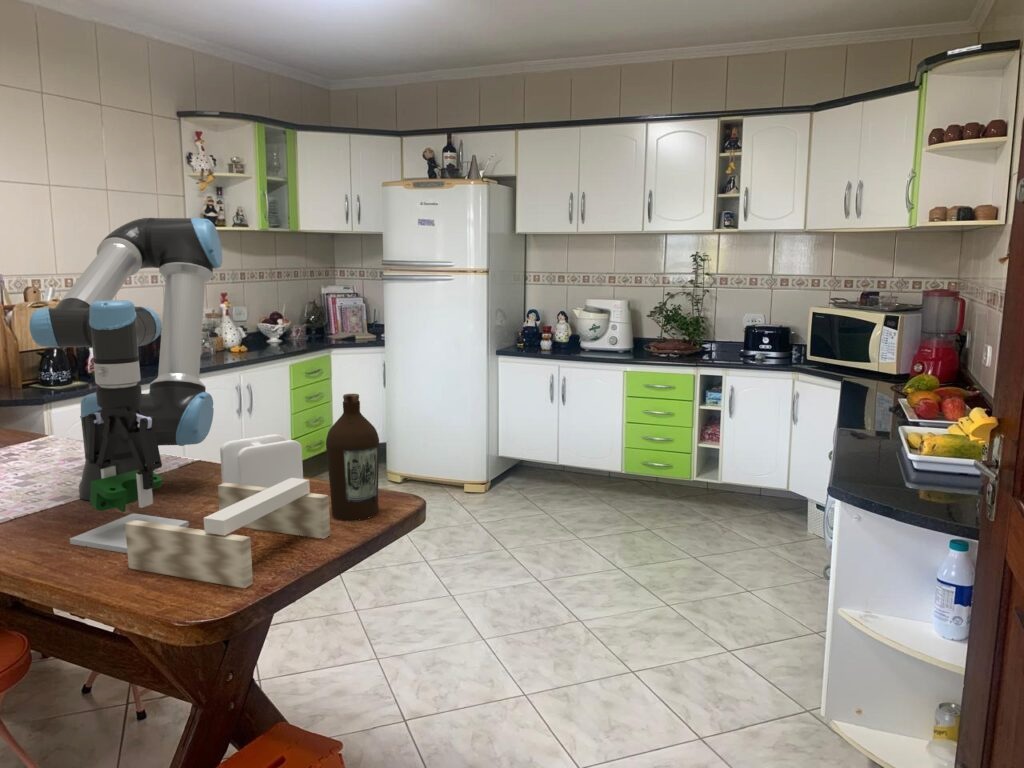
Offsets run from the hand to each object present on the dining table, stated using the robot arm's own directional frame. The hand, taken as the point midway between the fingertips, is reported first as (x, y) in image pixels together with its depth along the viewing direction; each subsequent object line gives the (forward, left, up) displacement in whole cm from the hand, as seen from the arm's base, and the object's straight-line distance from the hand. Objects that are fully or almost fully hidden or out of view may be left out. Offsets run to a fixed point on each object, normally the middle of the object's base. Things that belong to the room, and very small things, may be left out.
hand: (128, 502), depth 148 cm
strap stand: (+24, 0, -6) cm, 25 cm away
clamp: (0, 0, -1) cm, 1 cm away
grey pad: (0, 0, -6) cm, 6 cm away
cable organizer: (+6, +32, -7) cm, 33 cm away
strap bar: (+30, 0, +2) cm, 30 cm away
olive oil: (+34, +25, -7) cm, 43 cm away
